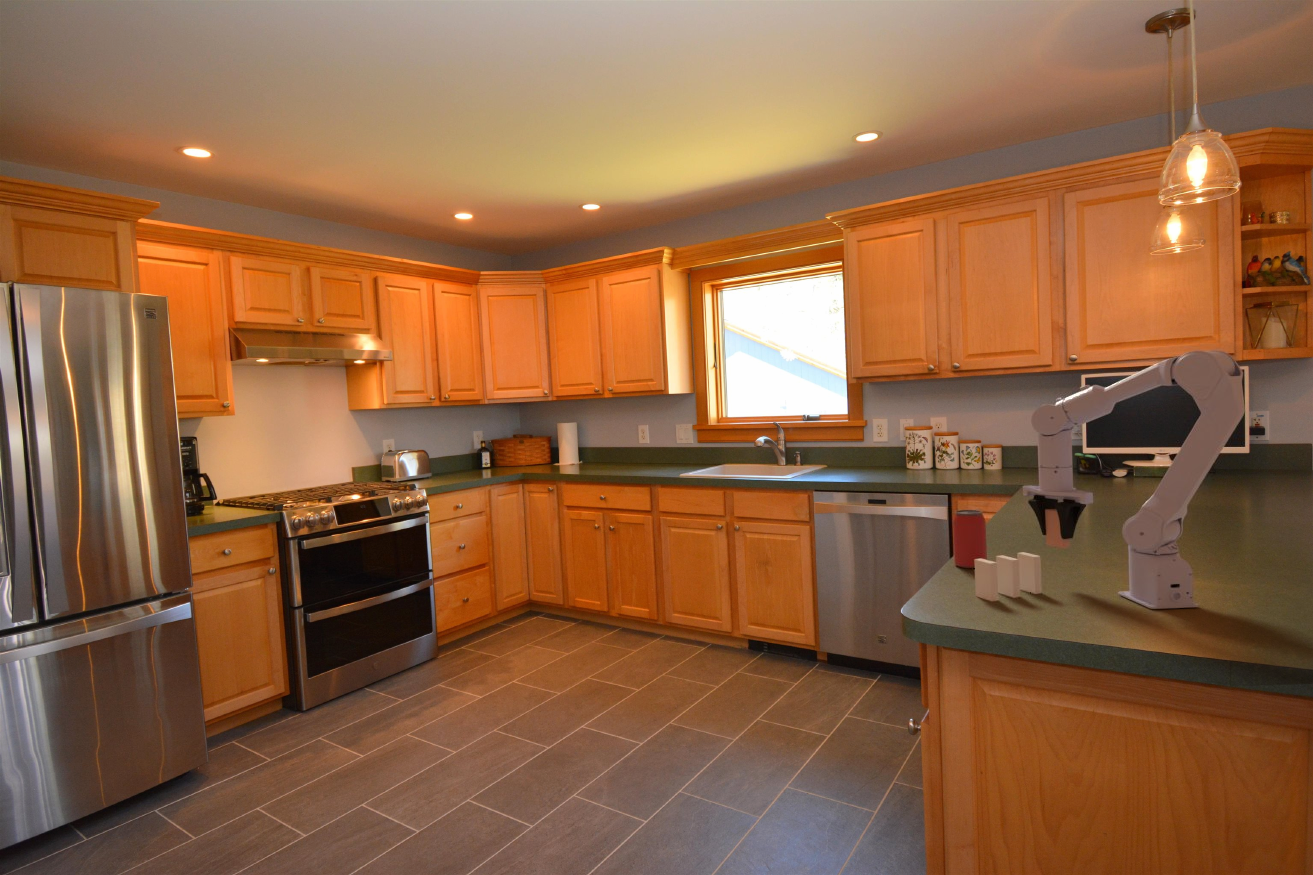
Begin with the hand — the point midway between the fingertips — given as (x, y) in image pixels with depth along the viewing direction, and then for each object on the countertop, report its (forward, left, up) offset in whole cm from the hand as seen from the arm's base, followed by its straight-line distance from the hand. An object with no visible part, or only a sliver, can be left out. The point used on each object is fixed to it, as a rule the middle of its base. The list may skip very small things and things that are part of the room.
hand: (1057, 536), depth 136 cm
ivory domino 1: (-7, +17, -9) cm, 20 cm away
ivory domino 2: (-5, +12, -9) cm, 16 cm away
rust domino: (0, 0, -2) cm, 2 cm away
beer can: (+18, +10, -10) cm, 22 cm away
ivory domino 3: (-4, +7, -9) cm, 12 cm away
